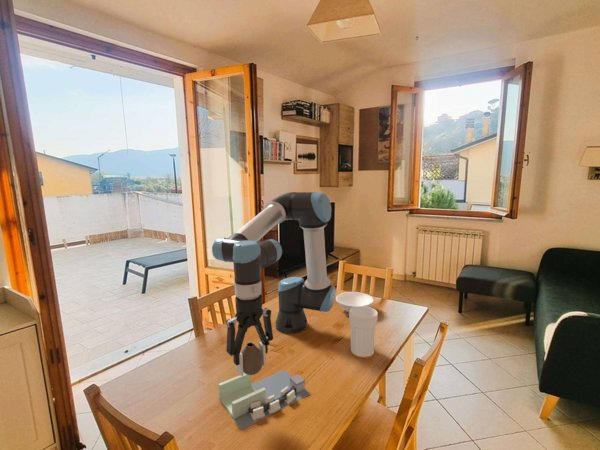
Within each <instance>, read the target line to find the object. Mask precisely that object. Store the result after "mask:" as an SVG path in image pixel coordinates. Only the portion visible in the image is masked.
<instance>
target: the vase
mask: <svg viewBox="0 0 600 450" xmlns="http://www.w3.org/2000/svg"><path fill="white" fill-rule="evenodd" d="M241 353H242V354H243V374H244V373H245V374H247V375H251V376H255V375H257V374H258V373H259V372H260V371H261V370H262V369H263V367H264V366H263V355H262V353H261V351H260V349H259V346H256V344H255V343H254V342H252V341H251V342H248V343H246V345H245V347H244V348H243V349H242V351H241Z"/></svg>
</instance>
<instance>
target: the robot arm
mask: <svg viewBox="0 0 600 450" xmlns="http://www.w3.org/2000/svg"><path fill="white" fill-rule="evenodd" d="M331 218H332V204H331V200H330V198H329V196H328V195H327V194H326V193H324V192H318V191H317V192H316V191H313V192H311V191H310V192H309V191H308V192H307V191H306V192H305V191H303V192H302V191H301V192H297V191H296V192H295V191H289V192H286V193H283V194H281V195H279V196H276V197H275V198H273V199H272V200H271V201H269V202H267V203H266V205H265V207H264V209H263V210H262V211H260V212H259V213H257V215H255V216H254V217H253V218H251V219H250V220H249V221H247V223H245V224H243V225H242V227H240V228H239V229H238V230H237V231H235V232H234V233H232V235H230V236H229V237H218V238H216V239H215V240H214V242H213V244H212V245H211V246H212V247H211V253H212V256H213V258H214V259H215V260H218V261H223V262H225V263H233V273H234V275H233V276H234V295H235V297H234V298H235V315H234V317H233V318H231V319H230V318H229V319H226V320H225V324H226V327H227V331H226V332H227V333H226V350H225V351H226V353H227V354H228V355H229V356H231V357H233V363H234V365H235V366H236V372H237V374H238V375H241V376H243V374H244V372H243V354H242V351H241V350H242V347H243V343H244V341H245V340H244V339H245V337H246V336H245V335H246V333H247V332H248V329H249V328H251V327H254V328H255V330H256V333H257V334H258V337H259V339H260V341H259V342H258V348H259V349H260V351H261V353H262V355H263V366H262V367H265V366H266V365H267V357H266V356H267V355H266V354H268V352H269V351H268V349H269V348H268V346H269V345H270V341H273V340H274V334H273V326H272V319H271V318H272V317H271V316H272V310H271V309H269V308H268V307H264V308H263V297H262V293H263V292H262V270H263V269H265V268H267V267H269V266H271V265H273V264H275V263H276V262H278V261H279V260H280V259H281V257H282V254H283V249H282V245H281V244H280V243H279V242H278V241H277V240H276V239H272V238H270V239H264V240H263V241H260V240H261V239H262V238H263V237H264V236H265V235H267V233H269V232H270V231H271V230H272V229H273V228H274V227H275V226H277V225H278V224H281V223H283V222H285V221H290V220H292V221H298V224H299V227H300V228H301V229H302V230H303V241H304V252H305V253H304V255H305V265H306V276H307V277H306V278H307V279H306V280H305V281H304V278H303V277H300V276H290V277H286V278H284V279H281V280H280V281H279V282H278V290H277V293H278V311H277V316H276V320H275V329H276V330H277V331H279V332H281V333H284V334H297V333H301V332H304V331H306V329H307V328H308V319H307V316H306V313H305V309H307V310H311V311H318V312H324V313H326V312H327V313H328V312H330V311H331V310H332V308H333V306H334V303H335V301H336V295H337V289H336V286H334V285H331V284H332V283H331V279H330V278H328V276H327V275H328V273H327V260H326V259H327V257H326V245H325V244H326V242H325V227H327V225H328V222H329V221H330V220H331ZM261 317H262V319H263V325H264V326H263V325H262V322H261V320H260V319H261ZM237 323H238V325H237ZM236 327H237V331H236ZM263 327H264V329H263Z"/></svg>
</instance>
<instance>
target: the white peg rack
mask: <svg viewBox="0 0 600 450" xmlns="http://www.w3.org/2000/svg"><path fill="white" fill-rule="evenodd" d="M292 386H295V387H296V391H295V390H292V391H291V392H289V393H288V394H287V400H285V401H284V402H285V403H287V404H290V403H291V402H292V401H293V400H294V399H295V398H296V396H295V392H296V393H298V392H300V391H302V390H304V389H305V388H306V383H305V378H303V377H301V375H299V374H295V375H293V376H292V377H291V378H290V387H291V388H292ZM288 391H289V389H288V387H285V388H284V389H283V390H281V396H283V395H284V394H286V393H287V392H288ZM274 400H275V396H274V395H272V396H270V397H268V398H266V399H265V404H268V403H270V402H272V401H274ZM290 405H291V404H290ZM260 406H261V402H260V401H257V402H254V403H251V404H250V408H251V409H253V408H256V409H253V413H250V414H251V417H252V419H253V420H256V419H259V418H261V417H264V416H265V414H264V408H263V406H262V407H260ZM258 407H259V408H258ZM279 409H281V407H280V406H279V400H276V401H274V402H272V403H270V409H268V410H267V411H268V412H269V413H270V414H271V413H273V412H275V411H277V410H279ZM281 410H282V409H281ZM279 411H280V410H279ZM277 412H278V411H277ZM275 413H276V412H275ZM273 414H274V413H273ZM271 415H272V414H271Z"/></svg>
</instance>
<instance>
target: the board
mask: <svg viewBox="0 0 600 450" xmlns="http://www.w3.org/2000/svg"><path fill="white" fill-rule="evenodd" d="M291 377H293V376H292V375H291V374H290V373H289V372H288V371H286V370H285V369H283V370H280V371H278V372H275V373H273V374H271V375H268V376H267V377H265V378H262V379H260V380H258V381H255V382H253V383H252V382H251V386H252V387H253V388H254V389H255V390H256V391H257V390H259V389H261V388H265V389H266V398H268V397H270V396H272V395H274V396H275V400H276V399H278V398H279V397H281V390H283V389H284V388H285V387H288V389H289V390H290V389H291V387H290V378H291ZM311 394H312V393H311V392H310V391H309V390H308V389H307V388H306V387H305V389H304V390H302V391H300V392H298V393H296V392H295V396H296V398H295V399H294V400H293V401H292V402H291V403H290V404H287V403H285V402H283V403H281V404H279V406H280V407H281V409H279V410H277V411H275V412H273V413H271V414H270V413H269V412H268V411H265V412H264V414H265V416H264V417H261V418H259V419H256V420H253V419H252V417H251V414H250V413H247V414H245V415H243V416H241V417H239V418H237V419H235V420H234V419H233V417H232V416H231V414H230V413H229V411H228V410H227V409H226V407H225V406H224V404H223V403H222V401H221V400H220V398H219V397H218V399H219V400H220V401H219V402H221V403H222V405H223V406H224V408H225V409H226V411H227V412H228V413H229V415H230V416H231V418H232V419H233V421H234V422H235V423H236V425H237V427H238V428H239V430H242V431H243V429H246V428H248V427H249V426H251V425H253V424H255V423H257V422H259V421H261V420H263V419H265V418H267V417H269V416H271V415H272V414H275V413H277V412H278V411H280V410H283V409H284V408H286V407H288V406H291V405H292V404H294V403H296V402H298V401H300V400H302V399H304V398H306V397H307V396H310V395H311Z"/></svg>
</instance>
